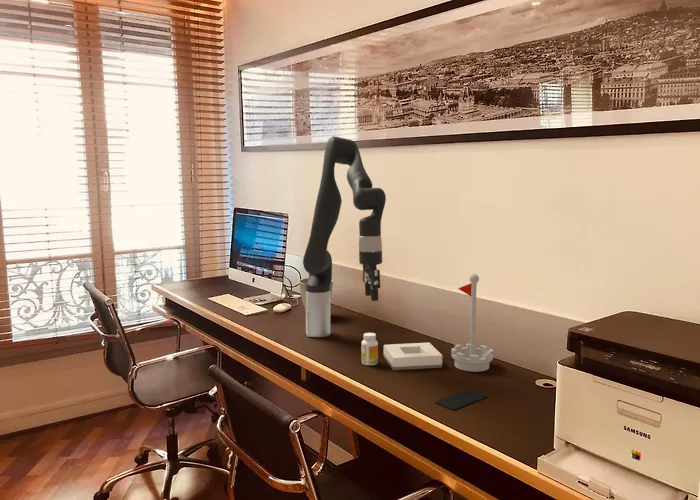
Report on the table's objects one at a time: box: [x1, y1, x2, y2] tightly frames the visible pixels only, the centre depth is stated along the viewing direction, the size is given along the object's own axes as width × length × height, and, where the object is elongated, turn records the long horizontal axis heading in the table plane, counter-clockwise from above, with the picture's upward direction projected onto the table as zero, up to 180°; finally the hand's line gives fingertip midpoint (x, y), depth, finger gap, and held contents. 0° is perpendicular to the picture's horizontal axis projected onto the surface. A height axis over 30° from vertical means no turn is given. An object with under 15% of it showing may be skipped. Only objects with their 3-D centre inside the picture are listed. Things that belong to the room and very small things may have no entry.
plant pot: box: [298, 277, 334, 311], centre depth 244 cm, size 15×15×16 cm
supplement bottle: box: [360, 332, 379, 366], centre depth 185 cm, size 5×5×10 cm
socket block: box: [383, 342, 443, 371], centre depth 187 cm, size 16×14×4 cm
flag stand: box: [451, 273, 494, 373], centre depth 181 cm, size 13×13×30 cm
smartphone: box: [434, 388, 489, 412], centre depth 155 cm, size 7×1×15 cm
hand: (371, 298), depth 187 cm, fingers open, 8 cm apart
